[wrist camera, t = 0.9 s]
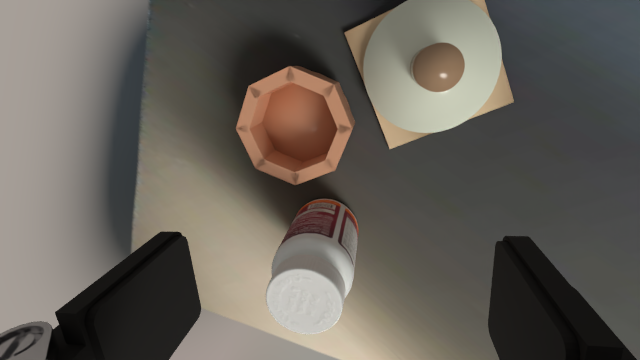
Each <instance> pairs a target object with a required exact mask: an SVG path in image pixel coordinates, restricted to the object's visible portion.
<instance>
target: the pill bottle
mask: <svg viewBox="0 0 640 360" xmlns="http://www.w3.org/2000/svg"><path fill="white" fill-rule="evenodd" d="M357 241H358V224H357V221H356V218H355V216H354V215H353V213H352V212H351V211H350V210H349V209H348V208H347V207H346V206H345V205H344V204H342V203H340V202H338V201H336V200H332V199H317V200H313V201H311V202H309V203H307V204H306V205H304V206H303V207H302V208H301V209H300V210H299V211H298V213H297V215H296V216H295V218H294V220H293V222H292V224H291V226H290V228H289V230H288V231H287V234H286V235H285V237H284V239H283V241H282V243H281V244H280V246H279V248H278V250H277V252H276V254H275V256H274V259H273V263H272V278H271V280H270V282H269V285H268V287H267V291H266V302H267V306H268V309H269V311H270V313H271V315H272V316H273V317H274V319H275V320H276V321H277V322H278V323H280V324H281V325H282V326H284V327H285V328H287V329H289V330H291V331H294V332H297V333H301V334H317V333H321V332H324V331H326V330H328V329H329V328H331V327H332V326H333V325H334V324H335V323H336V322H337V321H338V319H339V318H340V316H341V313H342V309H343V303H344V299H345V297H346V296H347V294H348V293H349V291H350V289H351V286H352V282H353V278H354V267H355V258H356V249H357Z"/></svg>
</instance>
